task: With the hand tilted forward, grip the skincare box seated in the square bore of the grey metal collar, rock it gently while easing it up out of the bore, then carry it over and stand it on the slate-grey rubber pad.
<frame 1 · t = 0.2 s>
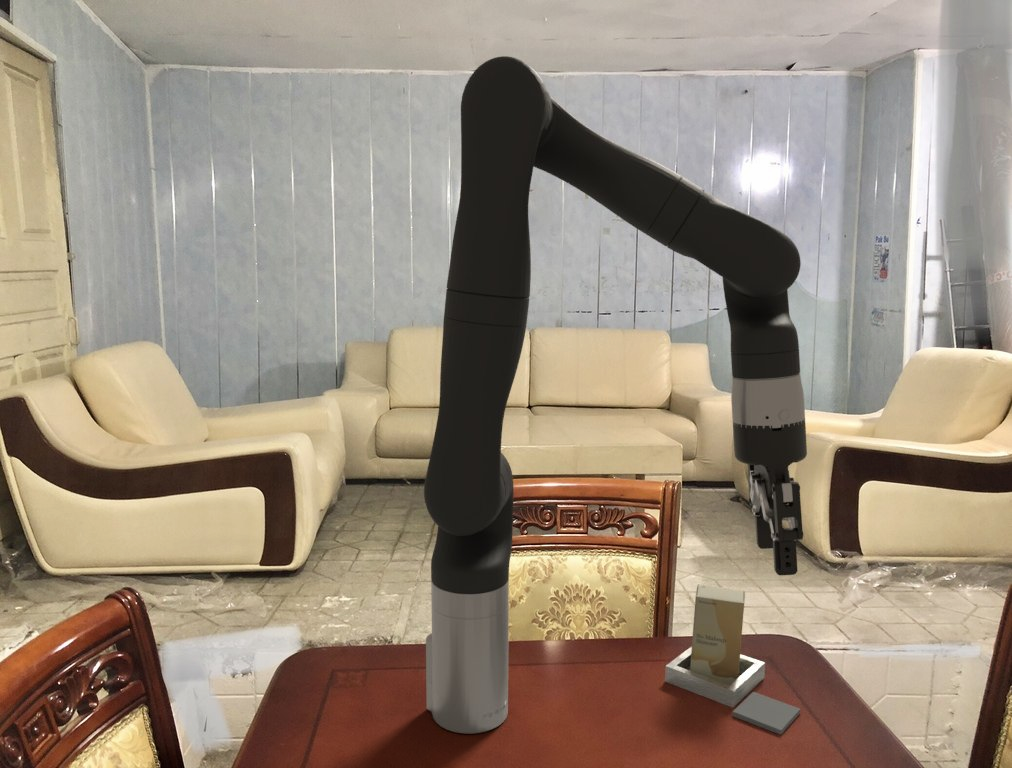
hand: (776, 560, 89), 22 cm above the table, tool pointing down, fingers open, 8 cm apart
skincare box: (714, 681, 106), resting in housing
pad: (766, 714, 98), on the table
housing: (714, 679, 106), on the table
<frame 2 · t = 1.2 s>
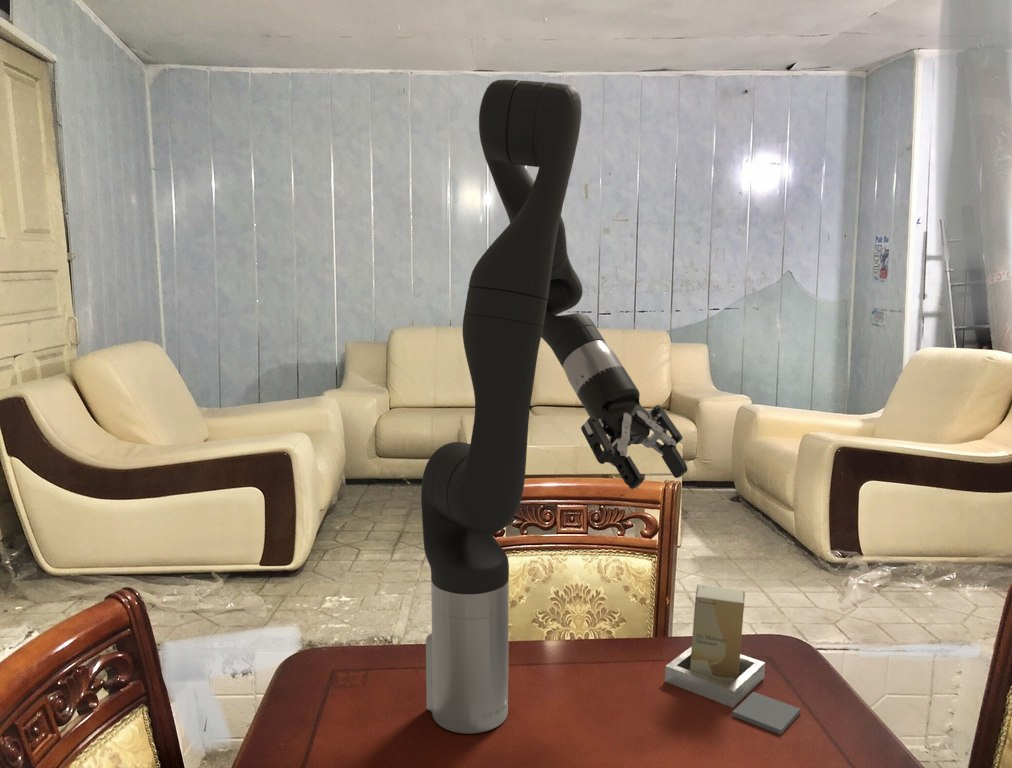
hand: (660, 479, 104), 27 cm above the table, tool tilted 45°, fingers open, 8 cm apart
nothing on the table moved.
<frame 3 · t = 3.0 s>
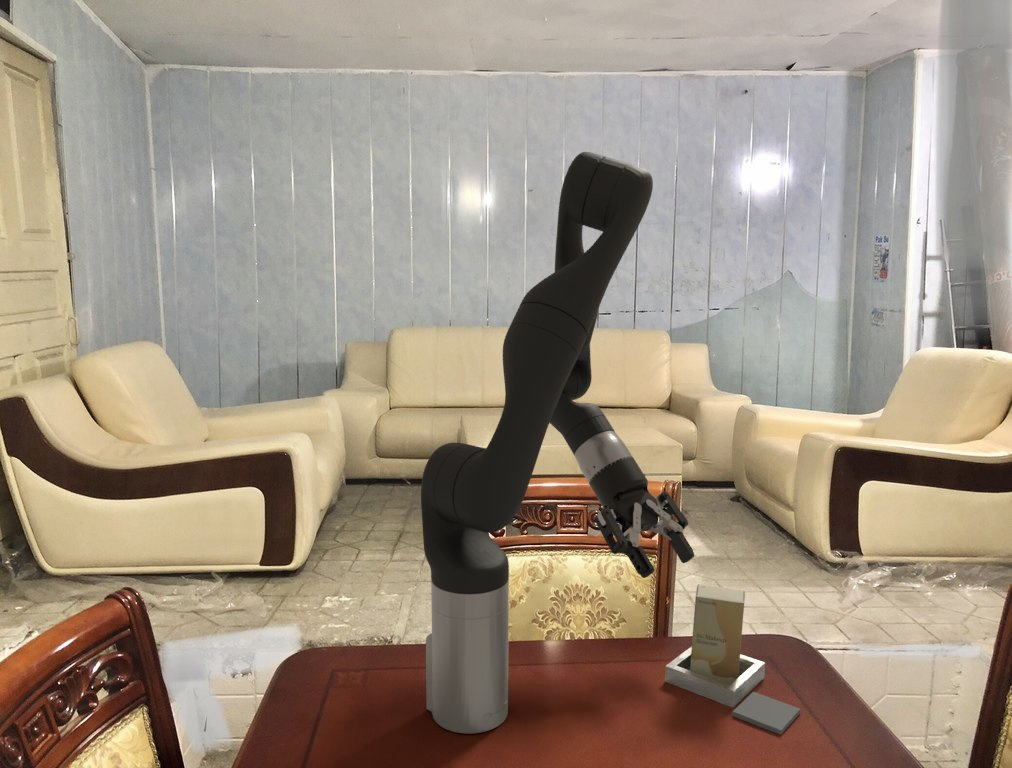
hand: (669, 567, 111), 13 cm above the table, tool tilted 45°, fingers open, 8 cm apart
nothing on the table moved.
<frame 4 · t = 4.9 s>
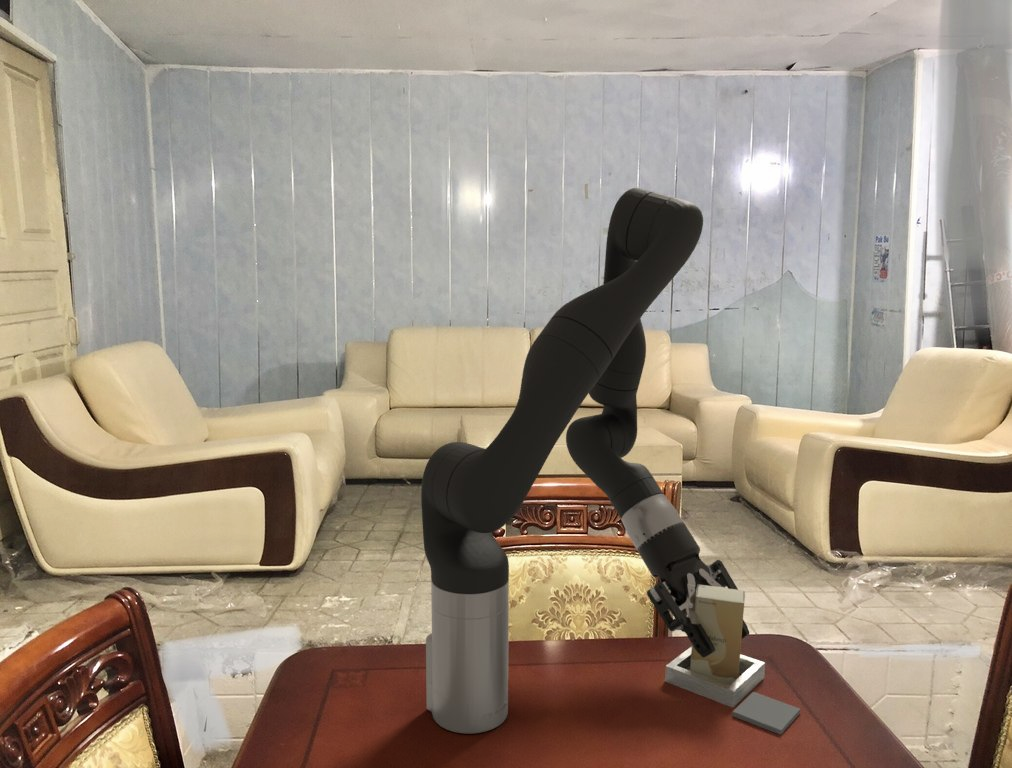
hand: (726, 645, 104), 5 cm above the table, tool tilted 45°, fingers closed on skincare box, 7 cm apart
skincare box: (714, 681, 106), resting in housing, touching gripper
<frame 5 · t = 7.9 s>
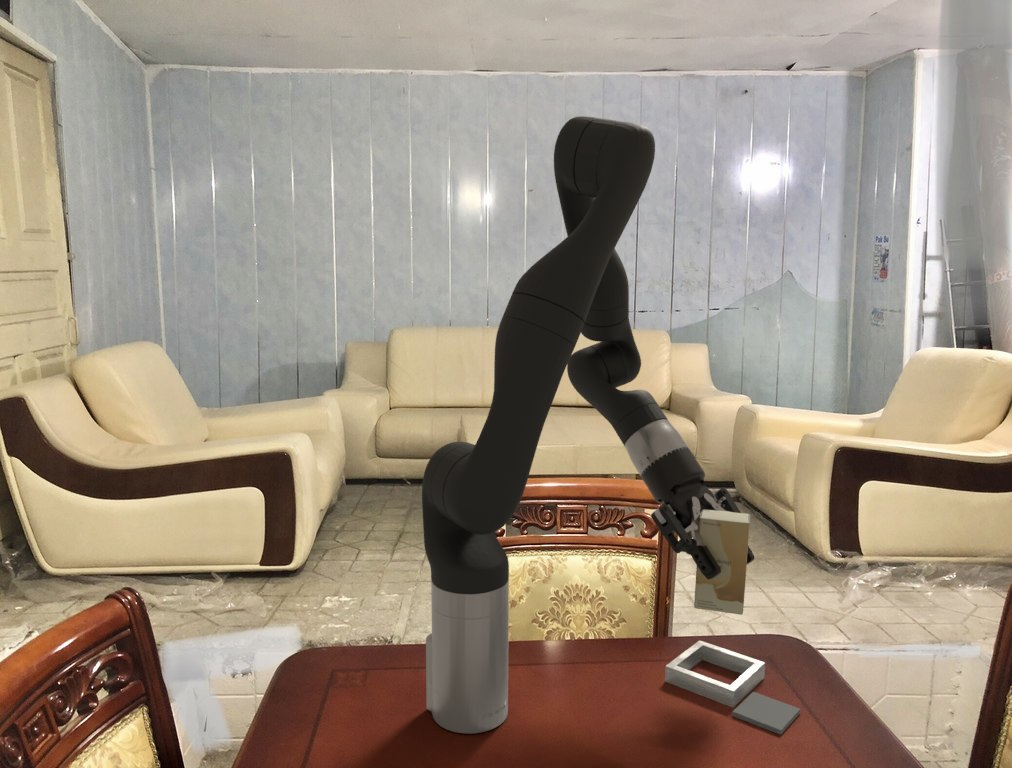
hand: (732, 569, 102), 16 cm above the table, tool tilted 45°, fingers closed on skincare box, 6 cm apart
skincare box: (720, 607, 104), point 10 cm above the table, touching gripper
when the fingers open (7 cm above the table, at t = 10.7 s): skincare box drops 1 cm, resting on pad.
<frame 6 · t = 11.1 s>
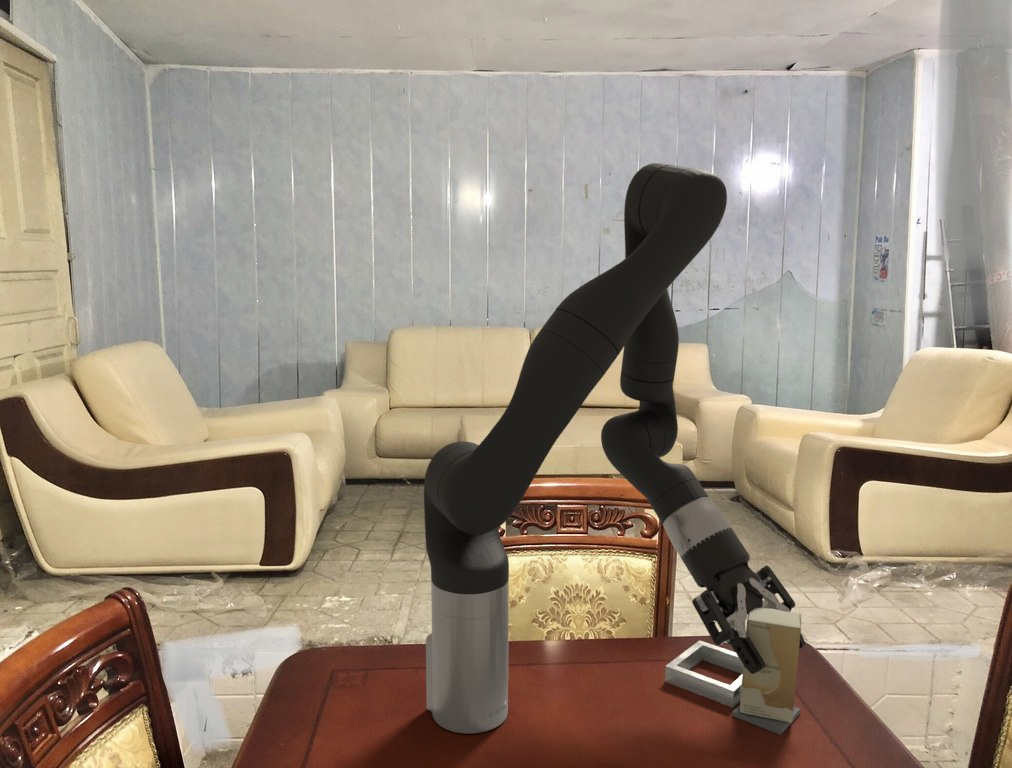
hand: (779, 659, 96), 8 cm above the table, tool tilted 45°, fingers open, 8 cm apart
skincare box: (767, 711, 98), resting on pad
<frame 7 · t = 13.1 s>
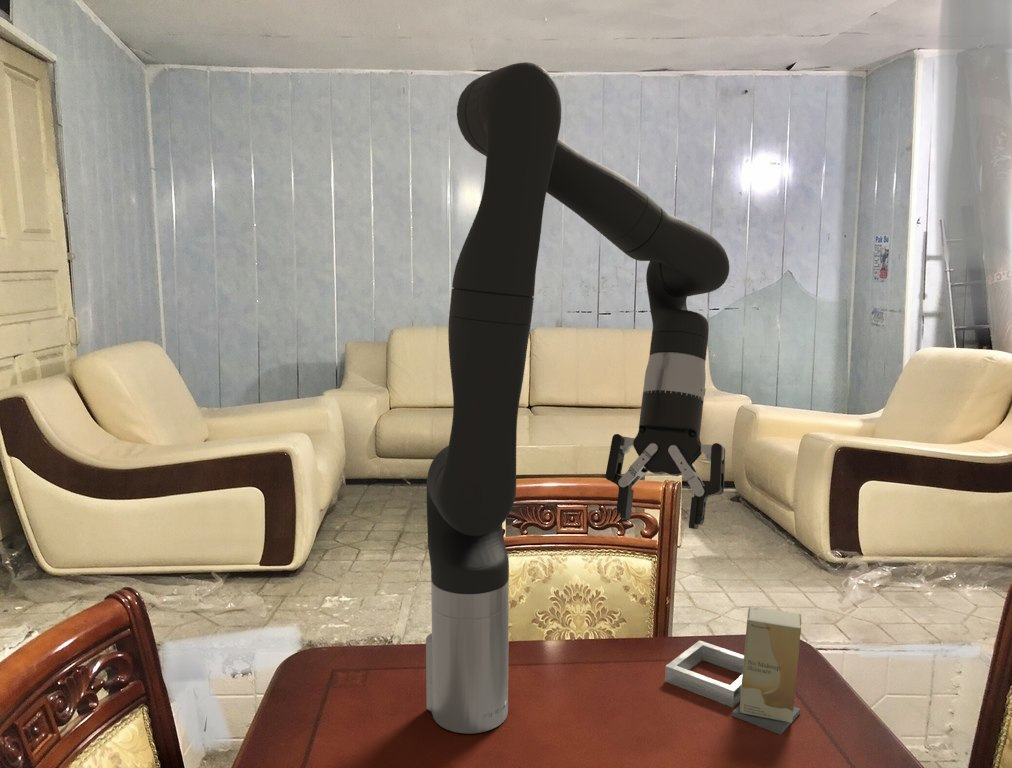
hand: (658, 523, 98), 23 cm above the table, tool tilted 20°, fingers open, 8 cm apart
nothing on the table moved.
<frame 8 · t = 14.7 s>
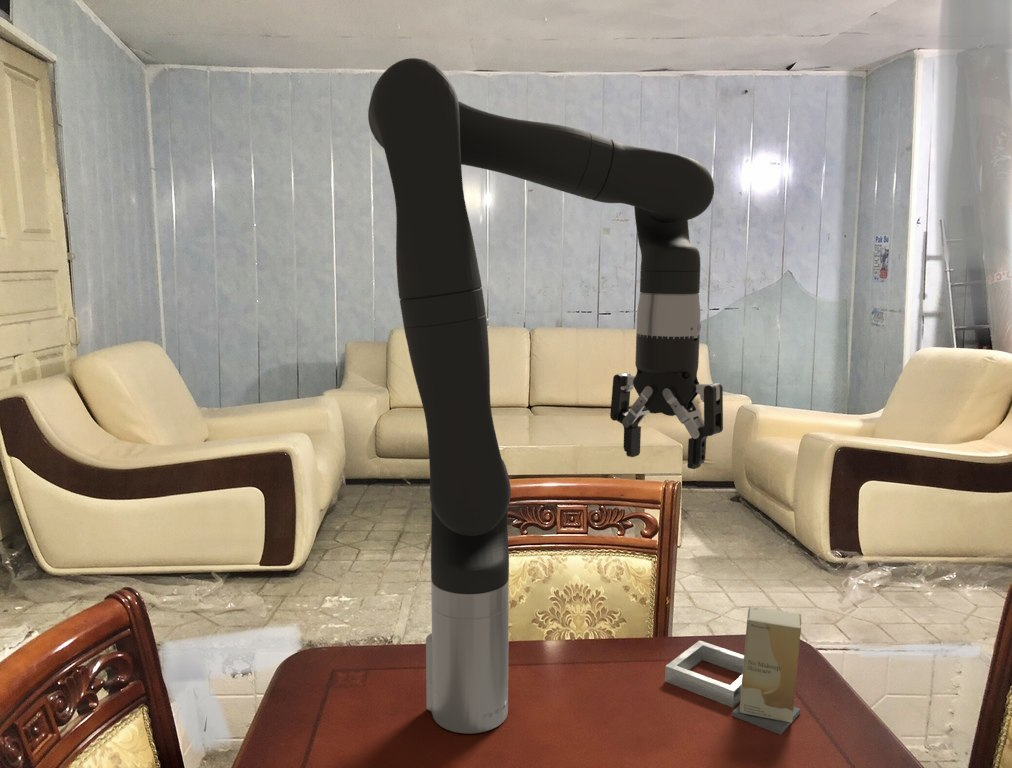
hand: (663, 461, 100), 30 cm above the table, tool pointing down, fingers open, 8 cm apart
nothing on the table moved.
at the end: skincare box inside the target area (0.1 cm from its centre), resting on pad; skincare box tilted 0°; the gripper is holding nothing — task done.
